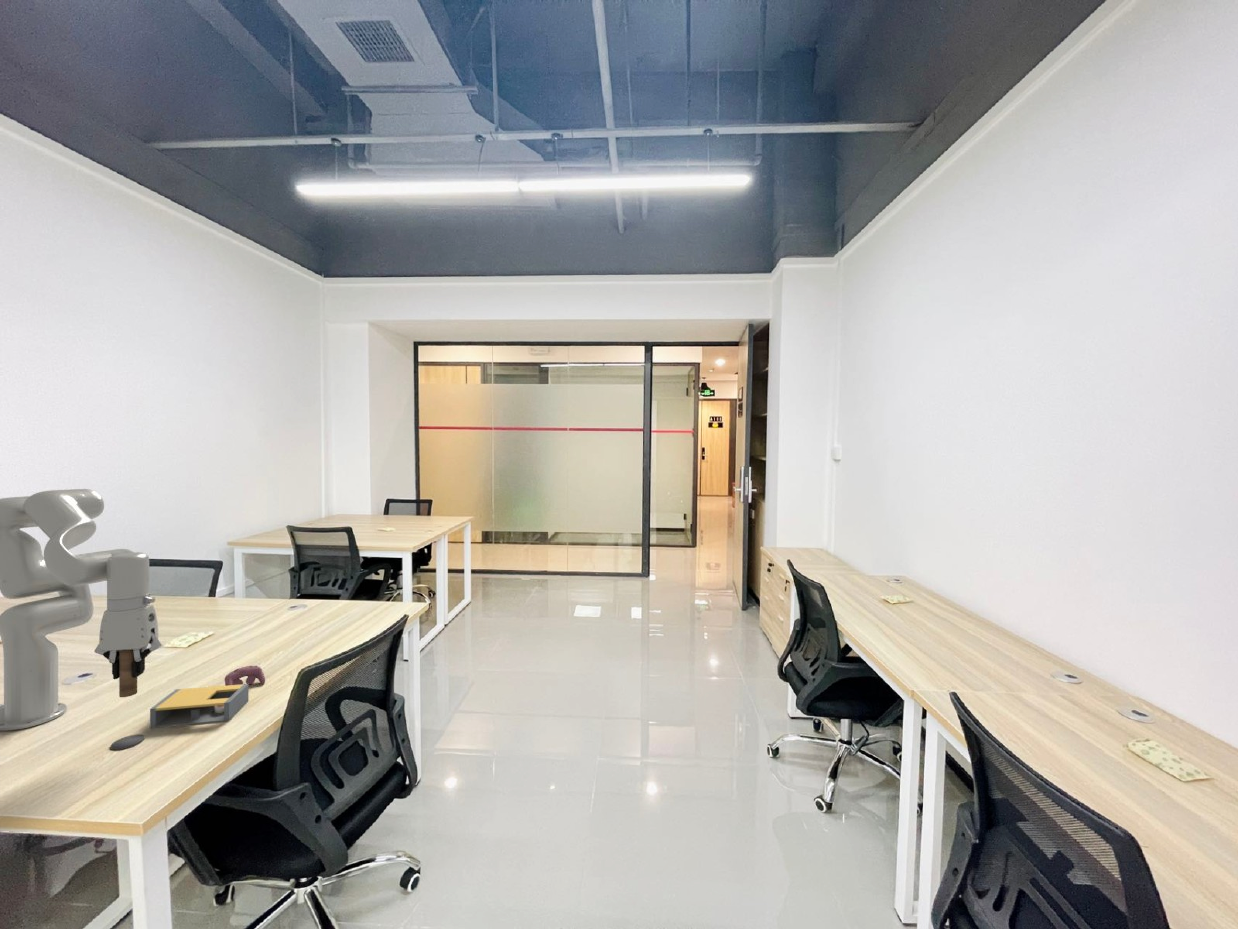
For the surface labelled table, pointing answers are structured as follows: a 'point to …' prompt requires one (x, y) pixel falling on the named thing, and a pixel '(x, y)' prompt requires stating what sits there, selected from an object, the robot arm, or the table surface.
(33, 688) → the robot arm
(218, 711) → the breaker button
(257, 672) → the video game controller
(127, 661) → the brown tall bar piece
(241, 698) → the tan flat boxy piece
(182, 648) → the table surface
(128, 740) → the rubber pad
